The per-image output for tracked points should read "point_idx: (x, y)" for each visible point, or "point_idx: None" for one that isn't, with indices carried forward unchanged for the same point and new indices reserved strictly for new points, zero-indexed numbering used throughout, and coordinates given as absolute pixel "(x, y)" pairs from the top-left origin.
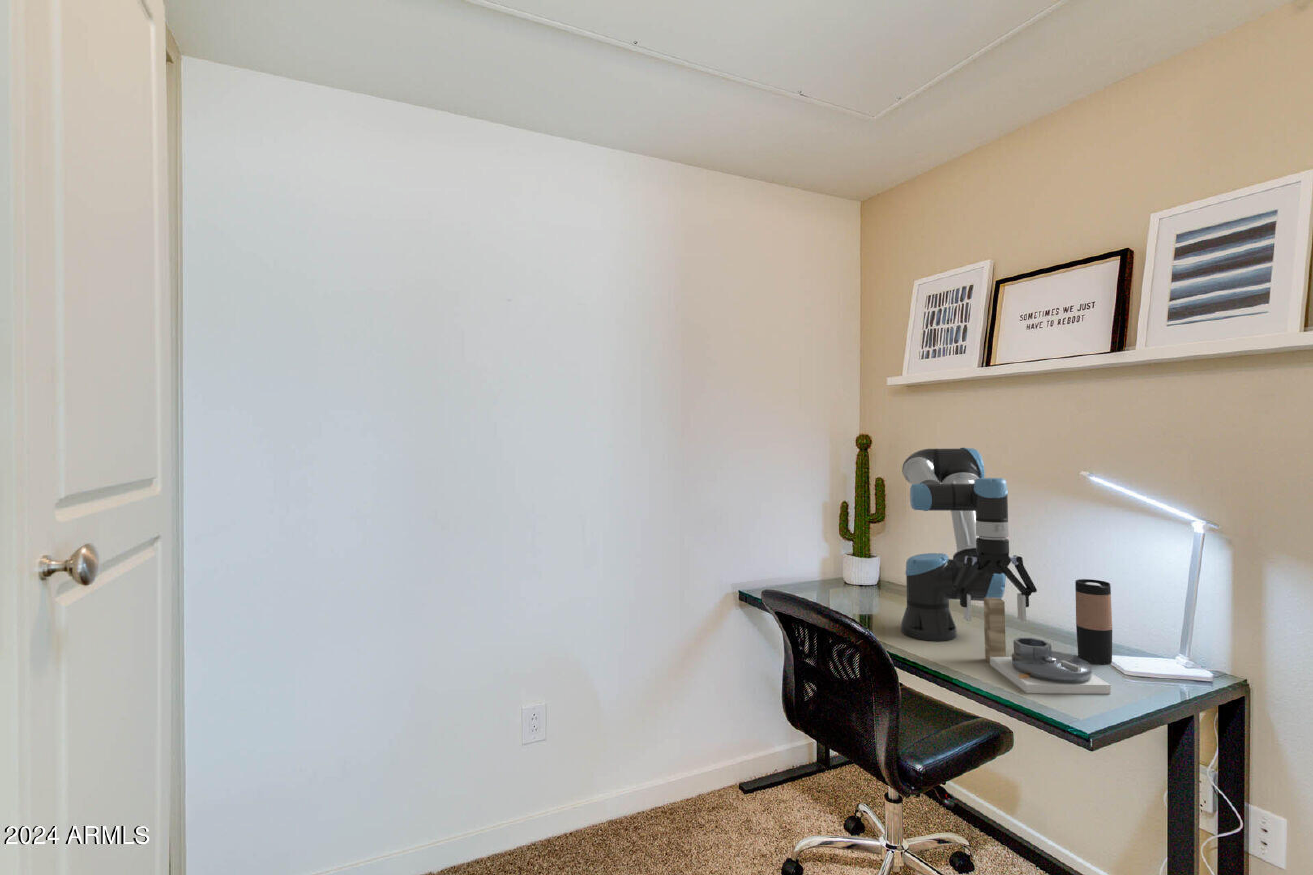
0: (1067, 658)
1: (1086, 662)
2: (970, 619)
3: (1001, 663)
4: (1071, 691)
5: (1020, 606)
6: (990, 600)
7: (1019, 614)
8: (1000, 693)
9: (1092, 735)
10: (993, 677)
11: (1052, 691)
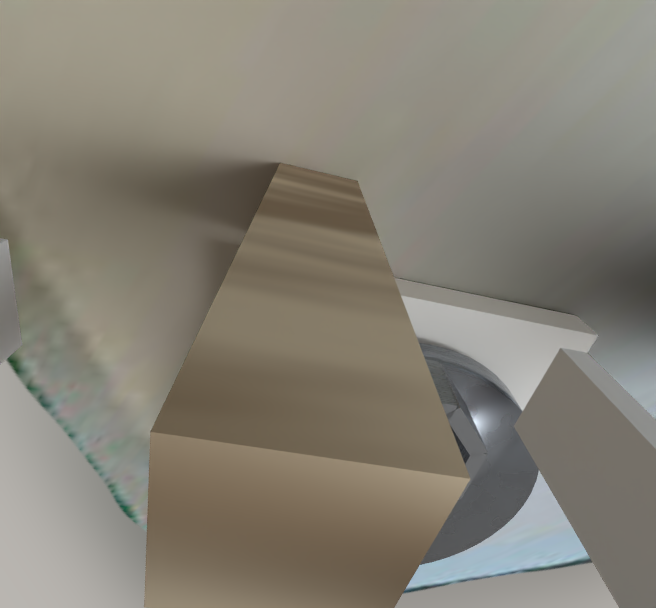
0: (479, 479)
1: (506, 515)
2: (3, 351)
3: None
4: None
5: (613, 515)
6: (182, 581)
7: (568, 409)
8: (127, 473)
9: None
10: (177, 371)
11: None
